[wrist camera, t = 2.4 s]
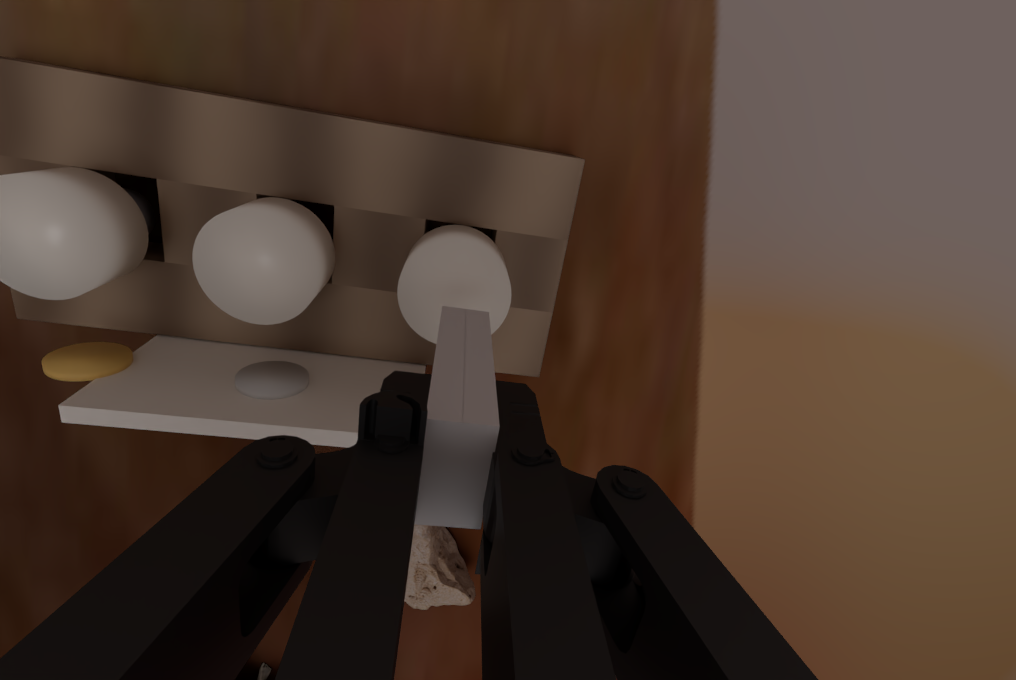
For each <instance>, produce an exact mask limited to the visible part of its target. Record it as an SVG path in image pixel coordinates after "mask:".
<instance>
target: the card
mask: <svg viewBox="0 0 1016 680" xmlns="http://www.w3.org/2000/svg"><path fill="white" fill-rule="evenodd" d="M42 367H43V372H44V374H45V375H46V376H48V377H50V378H53V379H56V380H61V381H90V380H93V381H92V382H90V383H89V384H88V385H86V386H85V387H83V388H82V389H81V390H79V391H78V392H76V393H75V394H74V395H72V396H71V397H69V398H68V399H66V400H65V401H64V402H62V403H61V404H59V405H58V407H59V412H60V416H61V421H62V422H63V423H74V424H86V425H97V426H108V427H120V428H131V429H142V430H154V431H165V432H177V433H188V434H199V435H211V436H222V437H233V438H245V439H256V440H259V439H262V438H265V437H269V436H278V435H288V436H296V437H299V438H301V439H304V440H306V441H308V442H309V443H310V444H313V445H324V446H336V447H347V448H349V447H351V446H353V445H355V444H356V443H357V440H358V424H359V407H360V403H361V402H362V401H363V399H364V398H366V397H368V396H370V395H372V394H374V393H378V392H380V389H381V386H382V383H383V380H384V378H386V377H387V376H388V375H390V374H391V373H392V372H394V371H404V372H413V373H421V374H425V369H426V364H417V363H409V362H400V361H391V360H382V359H373V358H364V357H355V356H346V355H337V354H328V353H319V352H310V351H301V350H292V349H283V348H274V347H266V346H257V345H248V344H239V343H230V342H221V341H212V340H203V339H194V338H185V337H176V336H167V335H157V336H155V337H154V338H153V339H151V340H150V341H148V342H147V343H145V344H144V345H143V346H141V347H140V348H138V349H137V350H136V351H134V352H133V353H132V350H131V349H130V348H129V347H127V346H125V345H122V344H118V343H112V342H87V343H79V344H74V345H69V346H65V347H62V348H59V349H56V350H54V351H52V352H50V353H48V354H47V355H46V356H44V358H43V359H42Z"/></svg>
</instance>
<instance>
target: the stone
mask: <svg viewBox="0 0 1016 680" xmlns="http://www.w3.org/2000/svg"><path fill="white" fill-rule="evenodd" d="M475 596H476V595H475V587H474V583H473V581H472V580H471V578H470V576H469V573H468V570H467V568H466V564H465V562H464V559H463V558H462V557H461V555H460V554H459V551H458V549H457V544H456V542H455V540H454V539H453V537H452V535H451V534H450V532H449V531H448V530H447V529H446V527H443V526H430V525H417V524H414V531H413V539H412V547H411V555H410V562H409V570H408V577H407V585H406V592H405V600H404V602H407V603H408V604H409V605H410V606H411V607H412V608H414V609H415V608H418V609H421V610H427V609H428V608H429V607H430V606H432V605H433V606H440V605H467V604H470V603H471V602H472V601H473V600H474V598H475Z"/></svg>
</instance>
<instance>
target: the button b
mask: <svg viewBox="0 0 1016 680" xmlns="http://www.w3.org/2000/svg"><path fill="white" fill-rule="evenodd" d="M192 261H193V268H194V272H195V275H196V278H197V280H198V282H199V285H200V286H201V288H202V290H203V291H204V293H205V294H206V295H207V297H208V298H209V299H210V300H211V301H212V302H213V303H214V304H215V305H216V306H217V307H219V308H220V309H221V310H223V311H224V312H226V313H227V314H229V315H231V316H232V317H234V318H237V319H239V320H242V321H245V322H248V323H253V324H260V325H272V324H278V323H282V322H286V321H288V320H290V319H293V318H295V317H296V316H298V315H299V314H300V313H302V312H303V311H304V310H305V309H306V308H307V306H308V305H309V304H310V303H311V302H312V300H313V299H314V298H315V297H316V296H317V294H318V293H319V292H320V291H321V290H322V288H323V287H324V286H325V285H326V284H327V282H328V281H329V279H330V277H331V275H332V273H333V269H334V265H335V250H334V244H333V241H332V238H331V236H330V234H329V232H328V230H327V228H326V227H325V225H324V224H323V223H322V221H321V220H320V219H319V218H318V217H317V216H316V215H315V214H314V213H313V212H311V211H310V210H309V209H307V208H306V207H304V206H302V205H301V204H298V203H296V202H294V201H291V200H288V199H283V198H276V197H266V198H260V199H256V200H253V201H251V202H248V203H246V204H243V205H240V206H238V207H235V208H233V209H230V210H228V211H225V212H223V213H221V214H219V215H217V216H215V217H213V218H212V219H211V220H209V221H208V222H207V223H206V224H205V225H204V226H203V227H202V229H201V230H200V231H199V233H198V235H197V237H196V239H195V243H194V246H193V253H192Z"/></svg>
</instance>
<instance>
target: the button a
mask: <svg viewBox="0 0 1016 680" xmlns="http://www.w3.org/2000/svg"><path fill="white" fill-rule="evenodd" d="M155 221H156V217H155V213H154V210H153V208H152V206H151V204H150V203H149V201H148V200H147V199H146V198H145V197H144V196H142V195H141V194H139V193H138V192H136V191H134V190H131V189H127V188H122V187H121V186H119V185H118V184H117V183H115V182H114V181H112V180H111V179H109V178H107V177H106V176H104V175H101V174H99V173H97V172H94V171H91V170H88V169H84V168H78V167H62V168H54V169H46V170H38V171H30V172H22V173H14V174H6V175H0V281H1V282H3V283H4V284H6V285H8V286H9V287H11V288H13V289H15V290H17V291H19V292H21V293H24V294H26V295H29V296H32V297H36V298H40V299H46V300H65V299H71V298H74V297H77V296H80V295H82V294H84V293H86V292H88V291H91V290H93V289H95V288H97V287H99V286H101V285H104V284H106V283H108V282H110V281H112V280H114V279H117V278H119V277H121V276H123V275H125V274H127V273H129V272H131V271H132V270H134V269H135V268H136V267H137V266H138V265H139V264H140V263H141V261H142V260H143V259H144V256H145V254H146V252H147V248H148V241H149V239H148V234H149V233H150V232H151V231H152V230H153V228H154V226H155Z"/></svg>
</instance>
